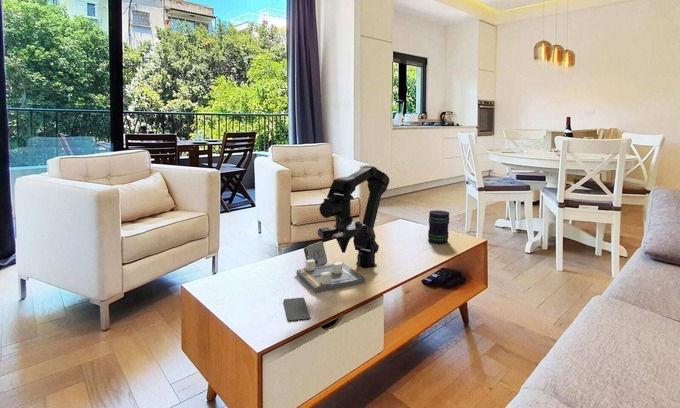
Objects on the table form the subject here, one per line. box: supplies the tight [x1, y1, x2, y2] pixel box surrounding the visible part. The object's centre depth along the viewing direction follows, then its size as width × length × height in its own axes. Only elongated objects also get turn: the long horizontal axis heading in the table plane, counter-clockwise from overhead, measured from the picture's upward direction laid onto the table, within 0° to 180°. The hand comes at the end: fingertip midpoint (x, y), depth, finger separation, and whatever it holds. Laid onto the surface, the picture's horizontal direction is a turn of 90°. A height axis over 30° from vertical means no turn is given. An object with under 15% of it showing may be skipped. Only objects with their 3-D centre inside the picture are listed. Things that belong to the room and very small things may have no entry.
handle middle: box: [332, 261, 343, 274], centre depth 150 cm, size 3×2×4 cm
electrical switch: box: [303, 241, 328, 267], centre depth 165 cm, size 9×5×9 cm, turn 141°
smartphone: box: [283, 296, 311, 323], centre depth 125 cm, size 7×1×15 cm
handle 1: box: [305, 259, 315, 271], centre depth 153 cm, size 3×2×4 cm
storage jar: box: [427, 210, 450, 245], centre depth 196 cm, size 10×10×15 cm
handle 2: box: [321, 272, 331, 285], centre depth 140 cm, size 3×2×4 cm
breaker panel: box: [296, 262, 367, 294], centre depth 149 cm, size 20×19×2 cm
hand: (343, 252), depth 150 cm, fingers closed
